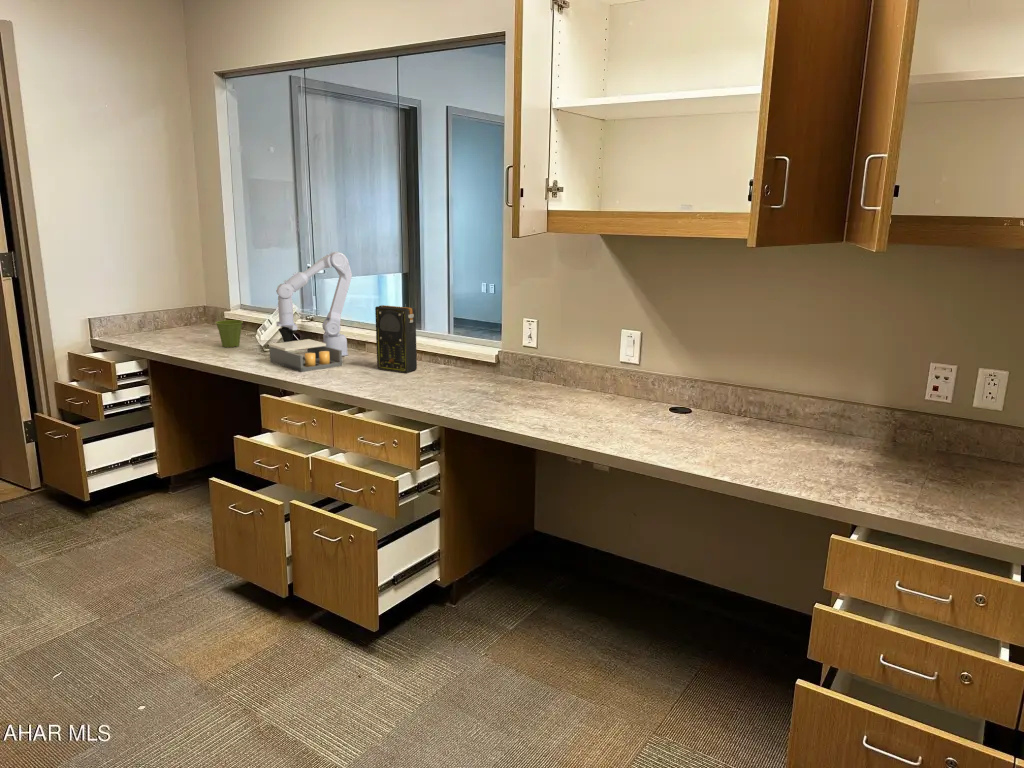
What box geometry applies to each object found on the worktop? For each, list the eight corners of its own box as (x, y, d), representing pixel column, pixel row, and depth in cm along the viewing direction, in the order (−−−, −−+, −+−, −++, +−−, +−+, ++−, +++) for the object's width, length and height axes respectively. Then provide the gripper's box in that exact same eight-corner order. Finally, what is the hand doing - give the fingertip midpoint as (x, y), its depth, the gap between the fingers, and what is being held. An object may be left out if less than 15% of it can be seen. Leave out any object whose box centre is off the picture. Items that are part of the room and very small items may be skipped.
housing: (310, 356, 311) (309, 341, 309) (342, 365, 292) (341, 350, 291) (270, 361, 299) (269, 346, 297) (301, 372, 280) (300, 356, 279)
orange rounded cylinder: (313, 367, 289) (313, 352, 288) (316, 369, 286) (316, 354, 285) (303, 367, 287) (303, 352, 286) (306, 369, 284) (306, 354, 283)
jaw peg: (326, 365, 294) (326, 350, 292) (332, 366, 291) (331, 351, 290) (317, 366, 291) (317, 351, 290) (323, 367, 288) (322, 353, 287)
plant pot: (219, 349, 324) (217, 324, 322) (215, 345, 334) (213, 321, 332) (247, 347, 330) (245, 322, 327) (242, 343, 340) (240, 319, 337)
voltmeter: (374, 369, 286) (372, 306, 280) (388, 365, 293) (386, 304, 288) (406, 374, 278) (404, 309, 273) (419, 370, 286) (418, 306, 280)
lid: (309, 343, 309) (309, 339, 309) (326, 348, 300) (326, 343, 299) (269, 348, 297) (269, 343, 297) (285, 353, 287) (285, 348, 287)
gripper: (268, 311, 304) (271, 344, 307) (285, 315, 294) (287, 348, 297) (284, 310, 309) (286, 342, 312) (301, 314, 298) (303, 346, 301)
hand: (287, 345), depth 304 cm, fingers closed
